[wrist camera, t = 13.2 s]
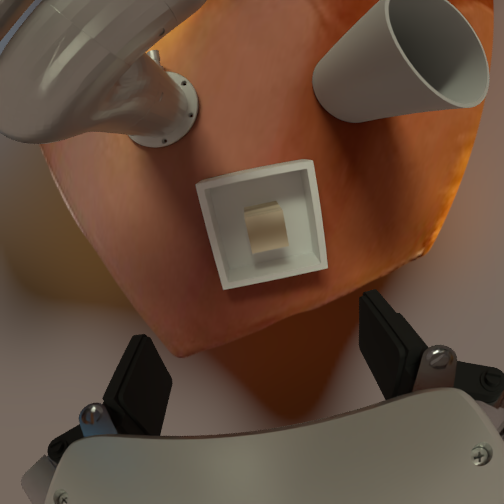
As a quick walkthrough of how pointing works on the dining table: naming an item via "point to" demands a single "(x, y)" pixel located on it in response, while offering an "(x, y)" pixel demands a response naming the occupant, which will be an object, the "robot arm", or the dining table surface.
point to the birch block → (265, 227)
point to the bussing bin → (235, 231)
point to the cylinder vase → (403, 63)
